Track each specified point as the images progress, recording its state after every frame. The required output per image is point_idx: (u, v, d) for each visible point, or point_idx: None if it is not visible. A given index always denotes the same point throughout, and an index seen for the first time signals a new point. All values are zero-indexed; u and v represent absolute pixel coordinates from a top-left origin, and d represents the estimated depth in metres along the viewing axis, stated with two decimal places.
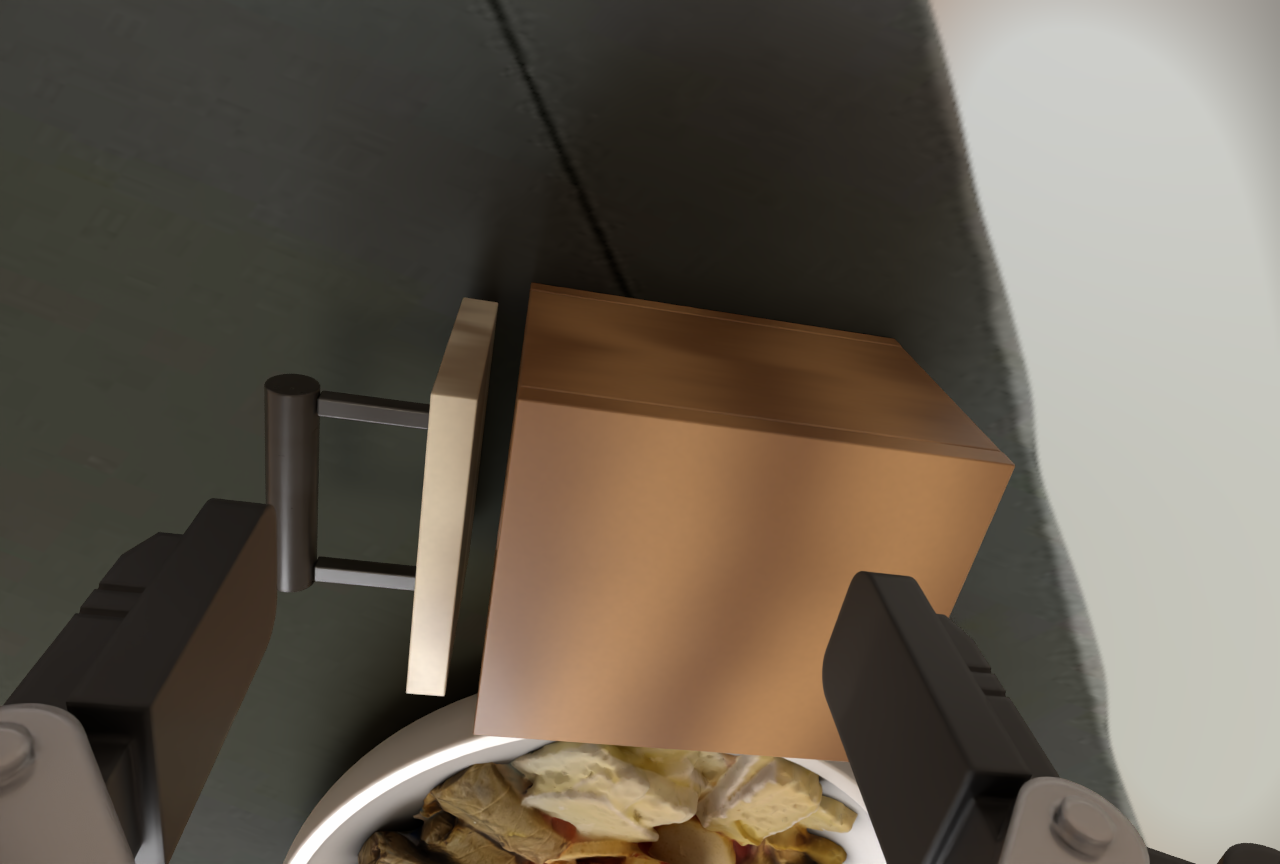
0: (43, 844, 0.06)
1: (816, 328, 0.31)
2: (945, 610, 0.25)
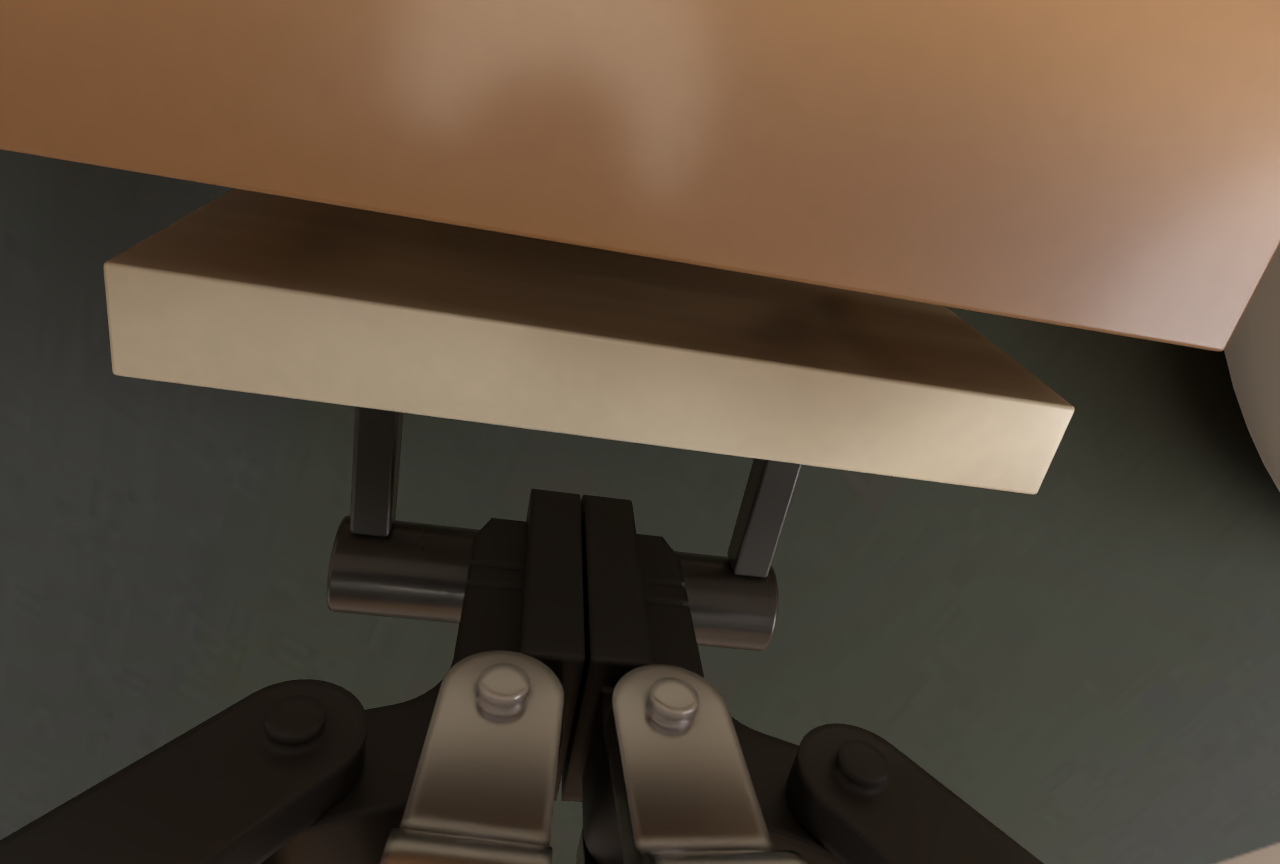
0: (502, 776, 0.07)
1: None
2: None
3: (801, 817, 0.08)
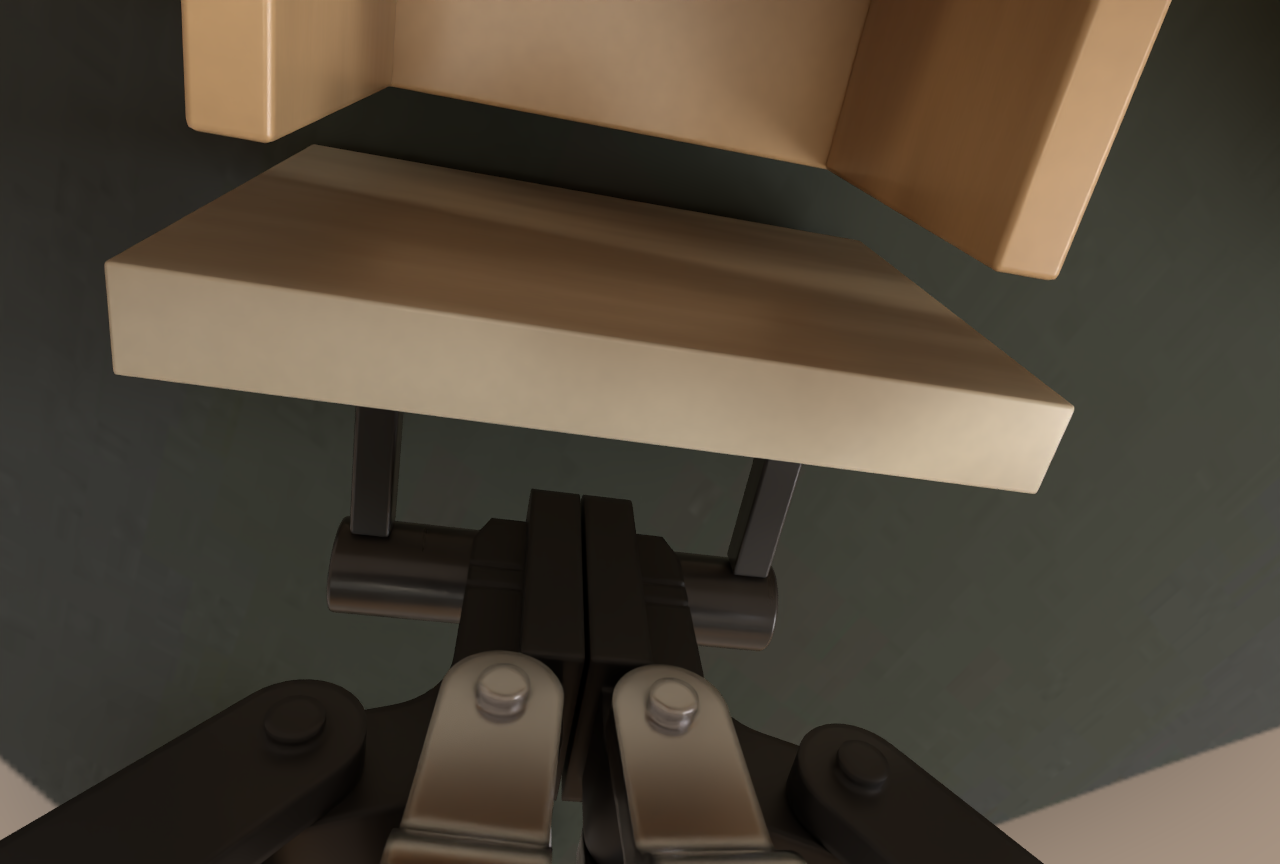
0: (502, 776, 0.07)
1: None
2: None
3: (800, 817, 0.08)
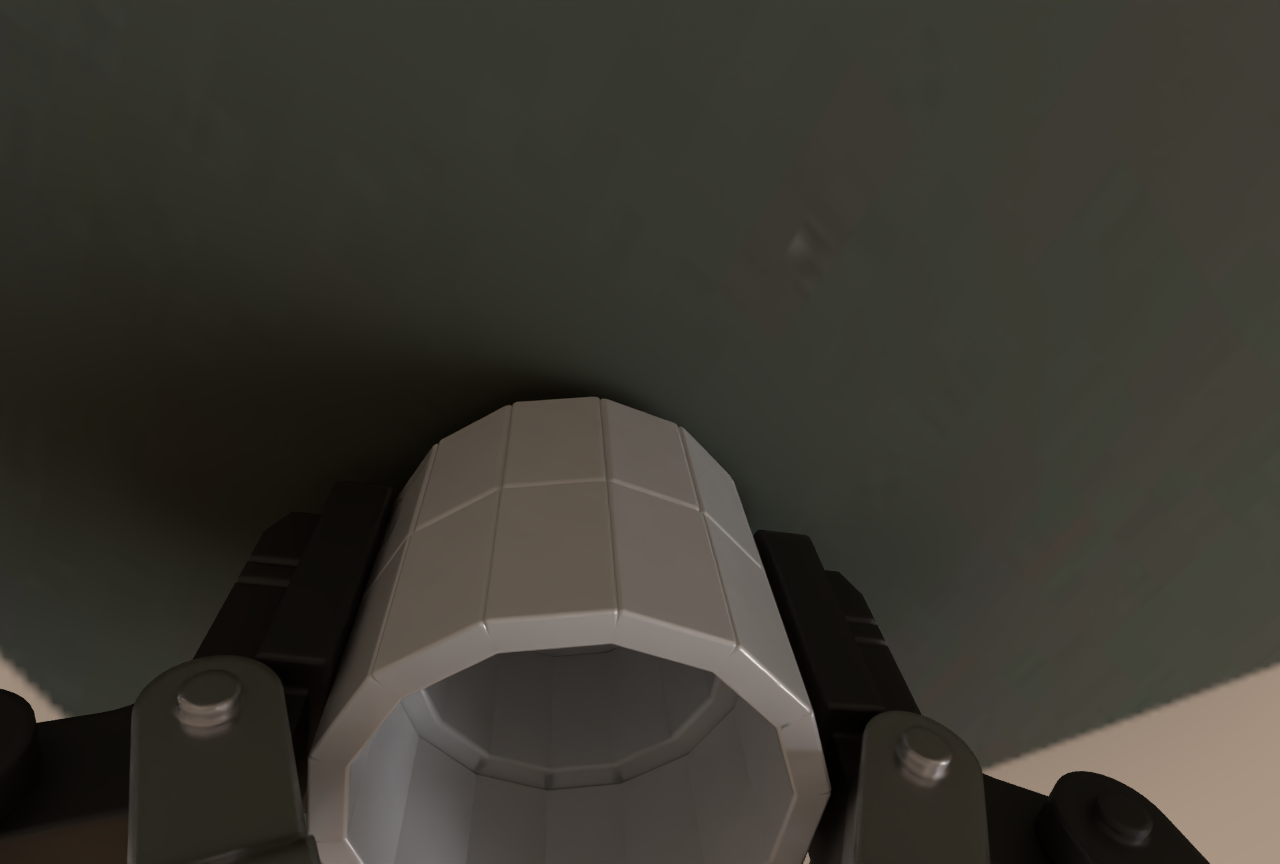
0: (234, 785, 0.07)
1: None
2: None
3: None
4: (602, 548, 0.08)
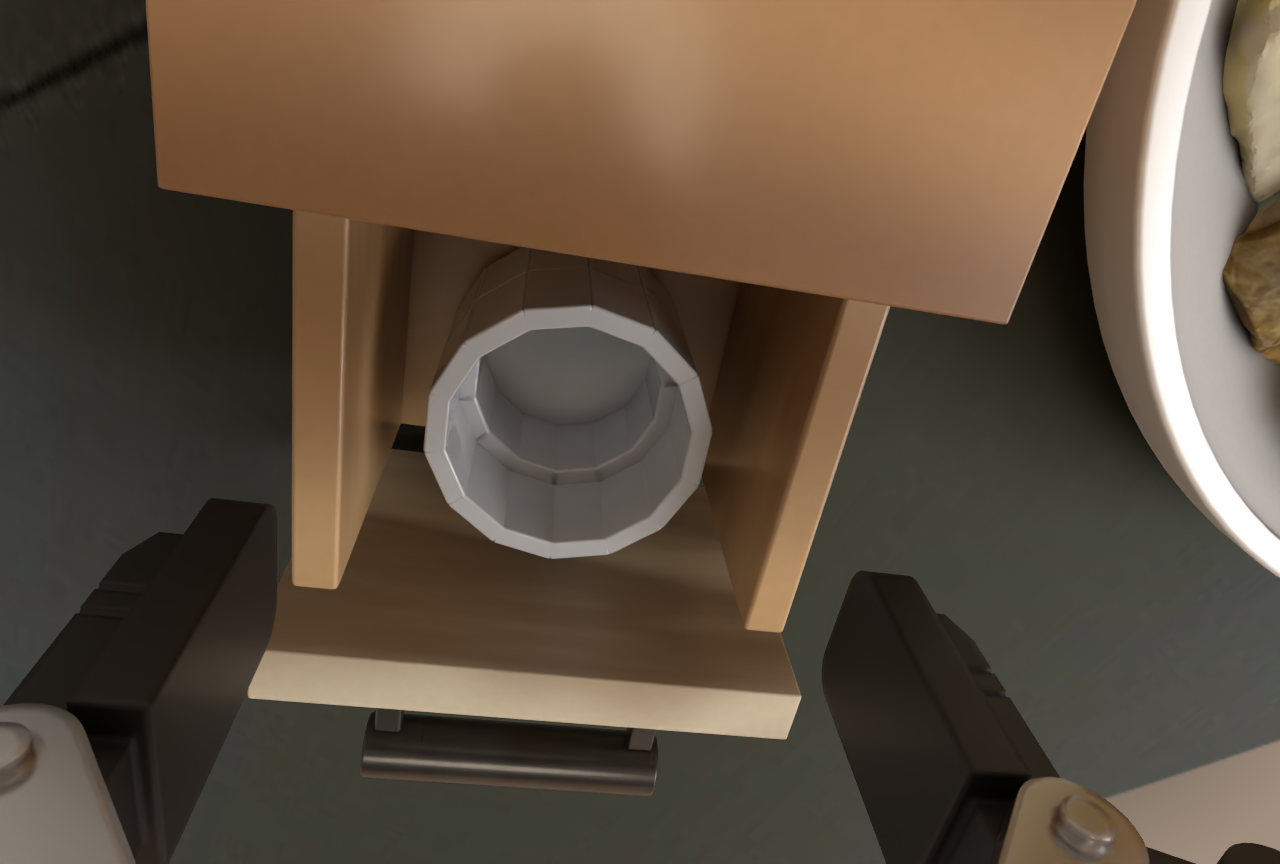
0: (44, 844, 0.06)
1: None
2: None
3: None
4: (584, 288, 0.15)
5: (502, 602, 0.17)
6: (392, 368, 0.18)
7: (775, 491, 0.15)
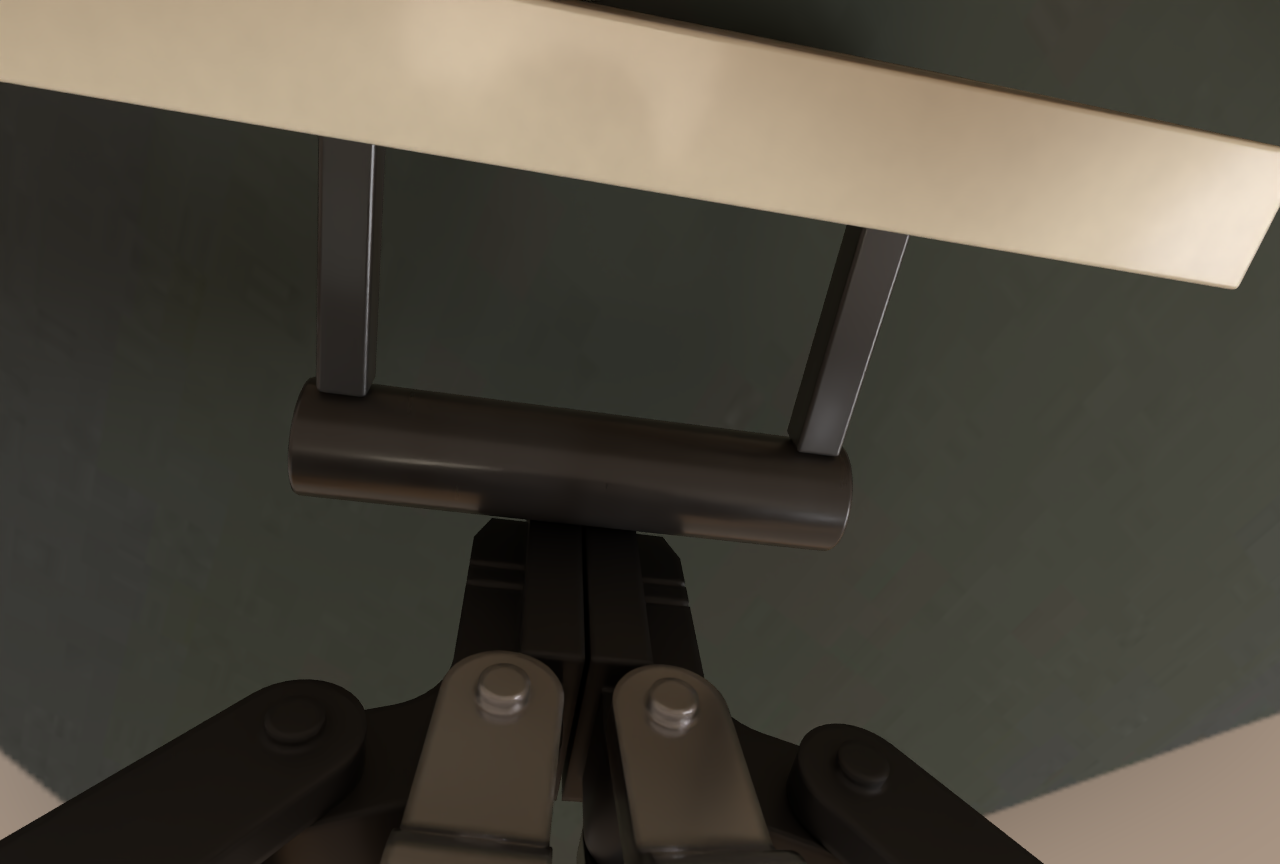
0: (502, 776, 0.07)
1: None
2: None
3: (801, 818, 0.08)
4: None
5: (582, 4, 0.08)
6: None
7: None
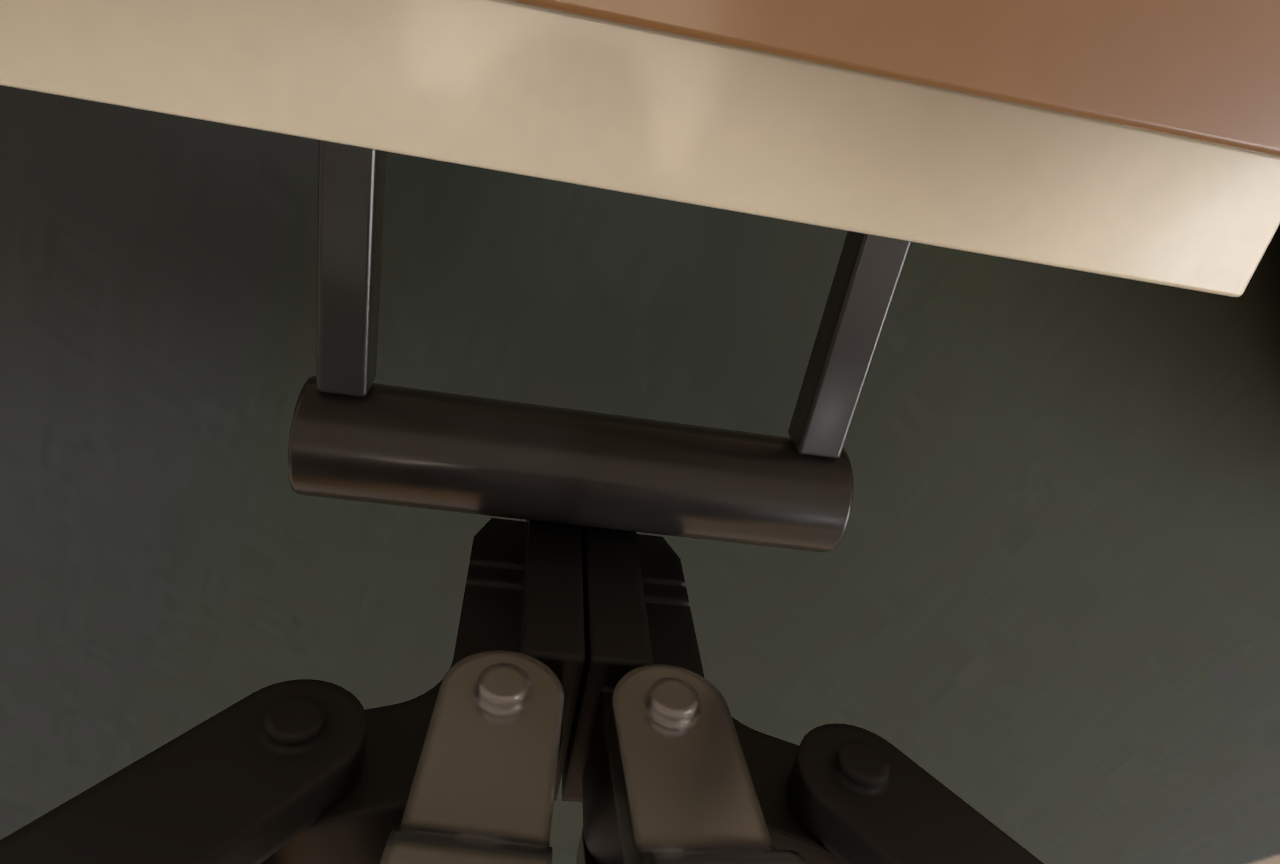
0: (502, 776, 0.07)
1: None
2: None
3: (801, 817, 0.08)
4: None
5: None
6: None
7: None
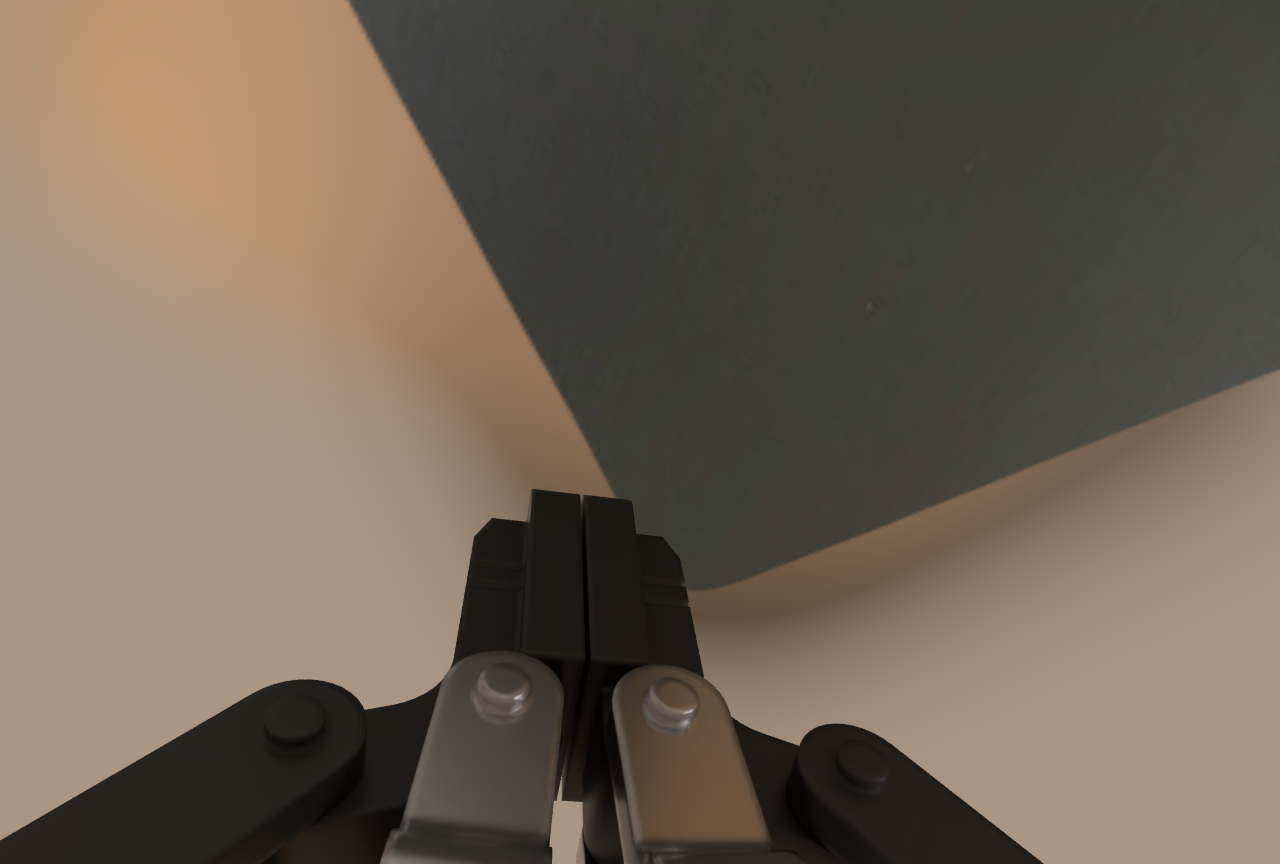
0: (502, 776, 0.07)
1: None
2: None
3: (801, 817, 0.08)
4: None
5: None
6: None
7: None
